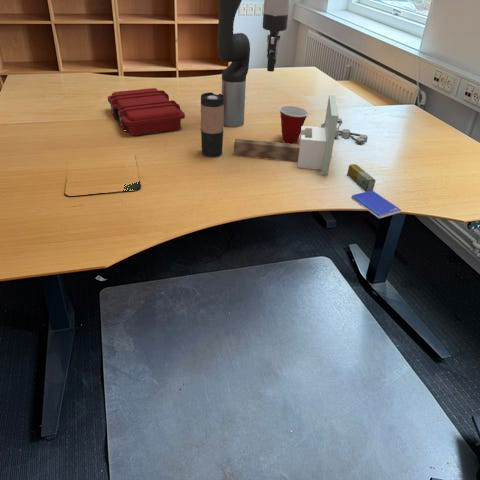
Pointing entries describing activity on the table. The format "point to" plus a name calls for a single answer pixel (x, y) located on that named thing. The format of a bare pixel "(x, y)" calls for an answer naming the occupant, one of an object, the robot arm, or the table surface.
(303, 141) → the grey upright panel
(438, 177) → the table surface
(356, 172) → the medication box
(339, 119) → the pulley system
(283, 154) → the post on square base
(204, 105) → the travel mug
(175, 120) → the first aid kit
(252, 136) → the table surface
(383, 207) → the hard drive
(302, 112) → the plastic cup
